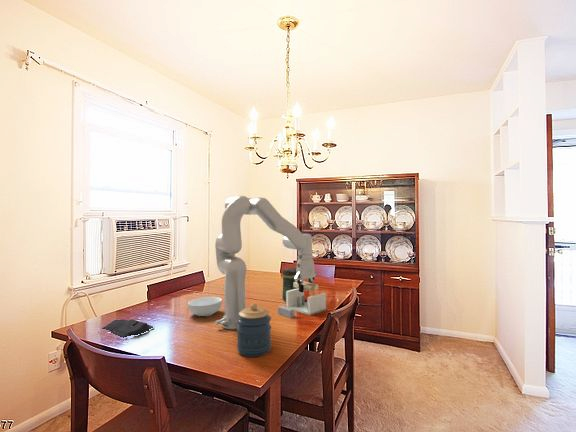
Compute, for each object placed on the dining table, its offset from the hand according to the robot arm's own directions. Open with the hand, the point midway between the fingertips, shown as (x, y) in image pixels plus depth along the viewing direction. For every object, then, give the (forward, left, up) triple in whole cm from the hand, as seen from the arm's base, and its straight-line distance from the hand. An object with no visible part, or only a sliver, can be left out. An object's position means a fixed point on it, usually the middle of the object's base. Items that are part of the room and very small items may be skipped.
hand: (305, 290), depth 167 cm
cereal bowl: (-43, +30, -10) cm, 54 cm away
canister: (-49, -22, -10) cm, 54 cm away
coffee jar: (+6, +19, -10) cm, 22 cm away
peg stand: (0, 0, -10) cm, 10 cm away
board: (0, 0, +1) cm, 1 cm away
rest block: (-14, 0, -10) cm, 17 cm away
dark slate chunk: (-80, +34, -11) cm, 87 cm away
